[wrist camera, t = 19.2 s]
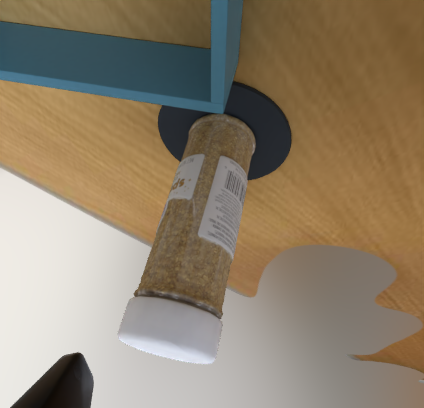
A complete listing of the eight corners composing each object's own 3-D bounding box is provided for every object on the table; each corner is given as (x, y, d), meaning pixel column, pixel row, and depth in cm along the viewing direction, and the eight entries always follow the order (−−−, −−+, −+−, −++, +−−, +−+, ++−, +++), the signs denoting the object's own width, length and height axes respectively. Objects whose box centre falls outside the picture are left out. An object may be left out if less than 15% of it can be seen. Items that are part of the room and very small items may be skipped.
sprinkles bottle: (182, 110, 20) (95, 334, 13) (255, 110, 18) (202, 357, 11) (198, 159, 23) (137, 352, 16) (259, 161, 22) (221, 372, 15)
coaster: (149, 68, 18) (147, 71, 18) (307, 91, 17) (307, 94, 17) (167, 167, 26) (166, 170, 25) (277, 186, 25) (277, 189, 24)
